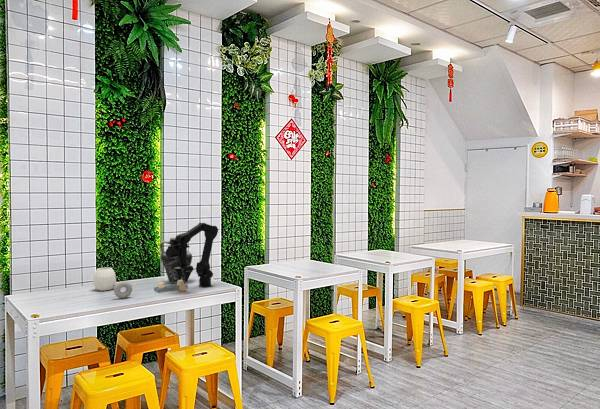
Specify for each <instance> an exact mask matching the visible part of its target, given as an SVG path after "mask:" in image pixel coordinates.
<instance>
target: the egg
mask: <svg viewBox="0 0 600 409" xmlns="http://www.w3.org/2000/svg"><path fill="white" fill-rule="evenodd" d="M185 284H186V283H184V284H180V286H179V290H178V291H179V293H187V289H186V285H185Z"/></svg>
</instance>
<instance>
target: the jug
mask: <svg viewBox="0 0 600 409" xmlns="http://www.w3.org/2000/svg"><path fill="white" fill-rule="evenodd" d="M175 238H176V237H170V238H169V240H163V241H161V242H160V243H159V244H160V245H159V248H160V251H161V256H160V259H161V262H162V265H163V267H164V270H165V273H166V276H167V279H168V283H170V284H177V281H178V280H179V279H178V276H177V273H176V271H175V270H173V269H170V268H169V266H168V263H170V262H172V261H175V260H176V257H170V258H168V257H167V256H166V251H165V250H164V244H166V245H169V246H172V244H173V242H174V240H175ZM187 257H188V259H187V264H188V265H190V266H191V264H192V261H193V254H192V253H191V251H189V250H187ZM181 279H182V280H183V281H184V282H185V279H184V274H183V273H182V276H181Z"/></svg>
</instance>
